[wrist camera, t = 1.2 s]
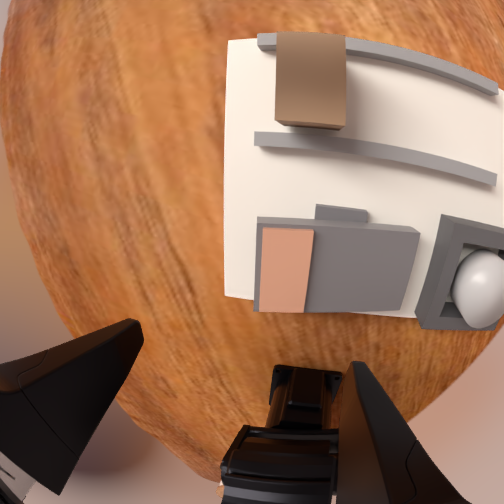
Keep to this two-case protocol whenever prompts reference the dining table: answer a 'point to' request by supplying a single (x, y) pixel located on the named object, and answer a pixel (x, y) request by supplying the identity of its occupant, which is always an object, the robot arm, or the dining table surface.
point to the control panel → (370, 164)
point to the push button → (479, 288)
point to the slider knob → (310, 80)
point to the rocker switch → (331, 265)
